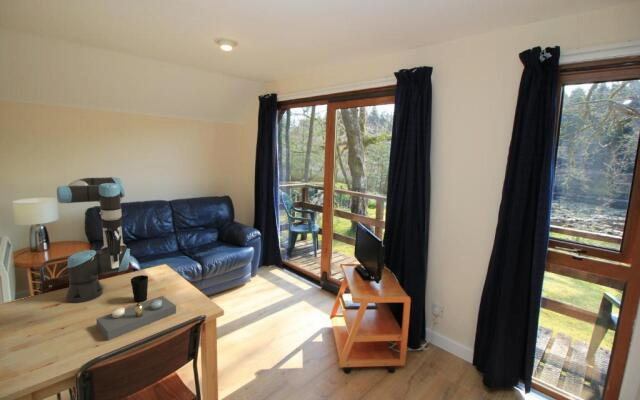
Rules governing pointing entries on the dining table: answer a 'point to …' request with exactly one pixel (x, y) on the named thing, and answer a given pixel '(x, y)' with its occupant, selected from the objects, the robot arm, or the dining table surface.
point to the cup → (140, 288)
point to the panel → (134, 318)
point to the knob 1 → (118, 312)
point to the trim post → (138, 310)
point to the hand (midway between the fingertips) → (115, 267)
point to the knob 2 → (156, 304)
